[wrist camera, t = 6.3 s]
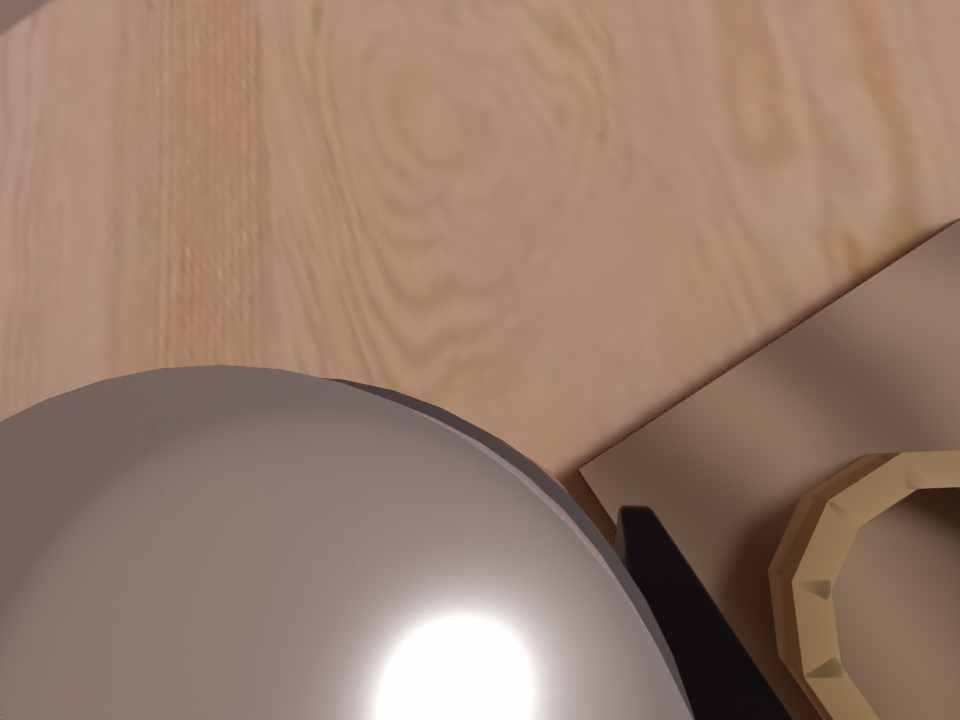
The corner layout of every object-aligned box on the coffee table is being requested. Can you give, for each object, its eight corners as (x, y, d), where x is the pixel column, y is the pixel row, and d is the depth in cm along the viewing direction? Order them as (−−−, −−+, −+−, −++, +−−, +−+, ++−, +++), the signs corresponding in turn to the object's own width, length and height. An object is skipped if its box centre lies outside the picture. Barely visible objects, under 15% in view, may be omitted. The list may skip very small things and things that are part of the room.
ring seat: (860, 894, 19) (927, 990, 15) (577, 469, 22) (581, 469, 18) (1309, 604, 19) (1479, 635, 15) (961, 217, 22) (1036, 170, 18)
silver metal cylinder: (436, 714, 15) (-175, 1968, 2) (338, 508, 16) (-420, 644, 4) (637, 605, 14) (1065, 1332, 2) (523, 404, 16) (408, 174, 3)
